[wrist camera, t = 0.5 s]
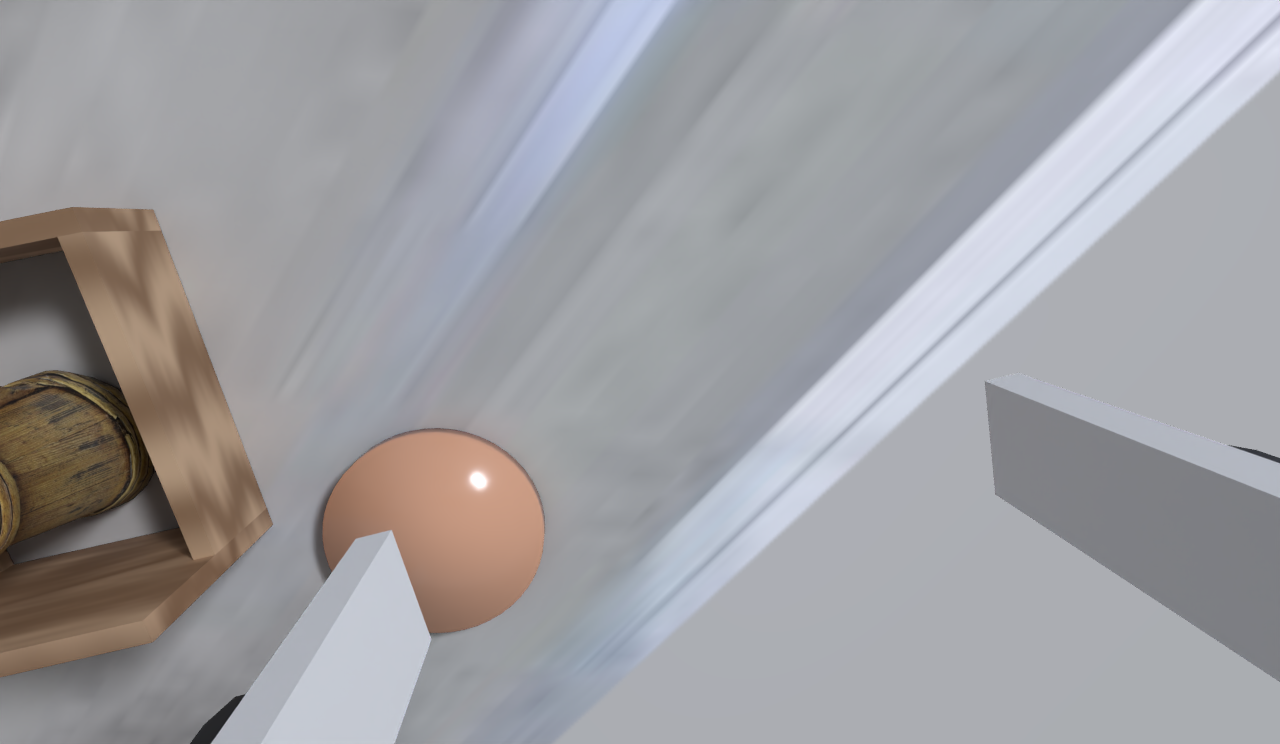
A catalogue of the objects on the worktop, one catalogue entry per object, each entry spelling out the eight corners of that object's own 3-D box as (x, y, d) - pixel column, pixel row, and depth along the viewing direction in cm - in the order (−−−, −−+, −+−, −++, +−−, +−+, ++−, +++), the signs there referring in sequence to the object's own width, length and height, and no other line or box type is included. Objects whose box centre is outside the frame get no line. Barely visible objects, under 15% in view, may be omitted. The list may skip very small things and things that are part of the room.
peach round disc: (302, 454, 41) (291, 463, 39) (516, 407, 41) (514, 414, 40) (368, 639, 44) (360, 653, 42) (565, 593, 44) (565, 606, 43)
